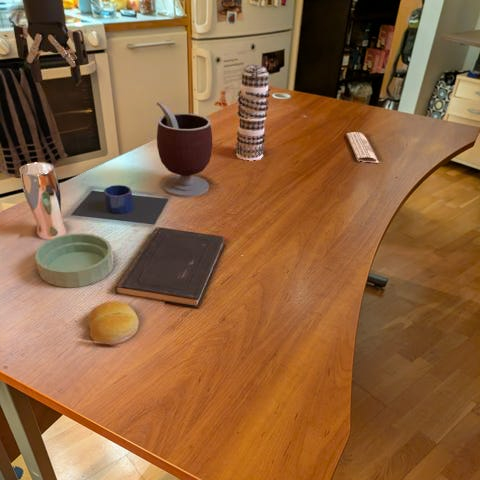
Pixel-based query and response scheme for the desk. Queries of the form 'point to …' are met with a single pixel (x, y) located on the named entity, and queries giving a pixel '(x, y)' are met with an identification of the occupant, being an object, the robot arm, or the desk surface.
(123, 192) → the small cup
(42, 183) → the beer glass
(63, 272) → the big bowl
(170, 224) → the desk surface
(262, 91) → the patterned cylindrical tower
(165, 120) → the mate gourd
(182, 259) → the hardcover book
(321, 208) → the desk surface
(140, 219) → the mat
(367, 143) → the newspaper
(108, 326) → the bread roll
